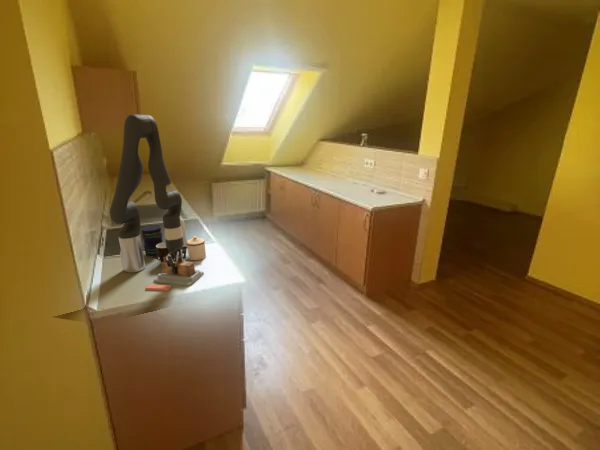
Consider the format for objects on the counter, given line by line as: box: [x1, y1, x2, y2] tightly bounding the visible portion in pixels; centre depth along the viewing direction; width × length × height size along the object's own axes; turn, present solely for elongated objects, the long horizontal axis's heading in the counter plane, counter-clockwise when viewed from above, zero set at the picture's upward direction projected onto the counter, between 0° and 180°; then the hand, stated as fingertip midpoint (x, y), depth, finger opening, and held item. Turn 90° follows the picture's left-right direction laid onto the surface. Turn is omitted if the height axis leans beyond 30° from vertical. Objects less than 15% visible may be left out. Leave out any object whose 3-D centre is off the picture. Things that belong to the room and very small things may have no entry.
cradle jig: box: [153, 269, 205, 287], centre depth 150 cm, size 18×12×3 cm, turn 76°
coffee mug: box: [154, 241, 173, 266], centre depth 164 cm, size 12×9×10 cm
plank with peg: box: [160, 258, 196, 276], centre depth 149 cm, size 14×4×7 cm, turn 76°
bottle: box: [180, 216, 188, 247], centre depth 183 cm, size 7×7×28 cm
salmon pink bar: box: [144, 284, 172, 292], centre depth 141 cm, size 10×3×2 cm, turn 85°
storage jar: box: [140, 224, 164, 258], centre depth 176 cm, size 10×10×15 cm
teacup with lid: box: [186, 235, 207, 261], centre depth 172 cm, size 12×9×12 cm
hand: (178, 271), depth 149 cm, fingers closed on plank with peg, 4 cm apart
